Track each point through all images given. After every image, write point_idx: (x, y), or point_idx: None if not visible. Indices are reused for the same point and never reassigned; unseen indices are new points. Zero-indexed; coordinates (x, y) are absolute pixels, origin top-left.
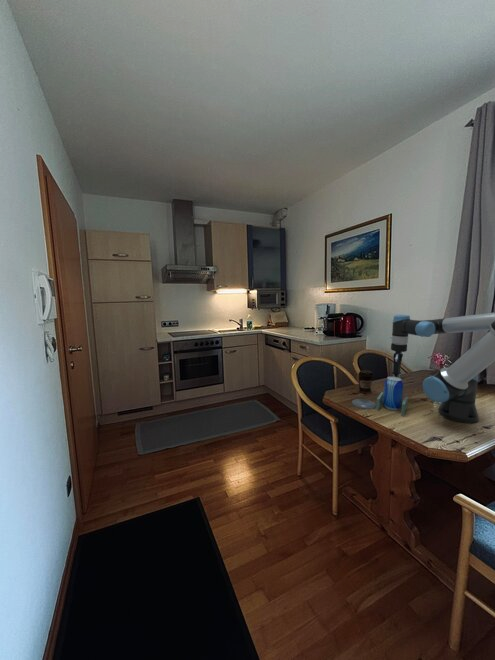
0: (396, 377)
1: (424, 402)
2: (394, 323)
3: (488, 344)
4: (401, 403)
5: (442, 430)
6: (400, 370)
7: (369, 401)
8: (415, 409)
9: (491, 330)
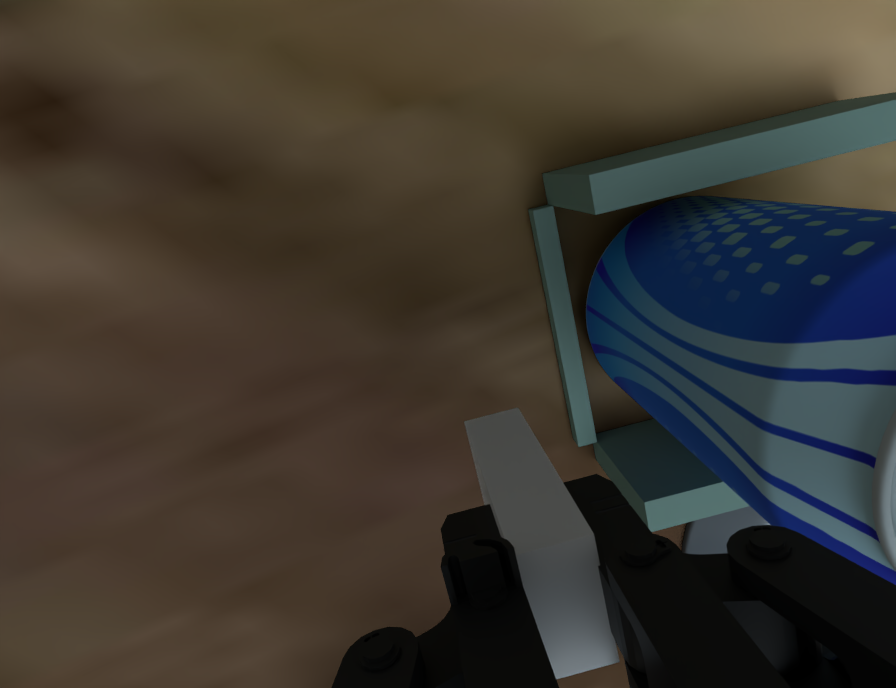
0: (893, 476)
1: (141, 68)
2: None
3: None
4: (730, 198)
5: None
6: (364, 653)
7: (720, 536)
8: (516, 73)
9: None
